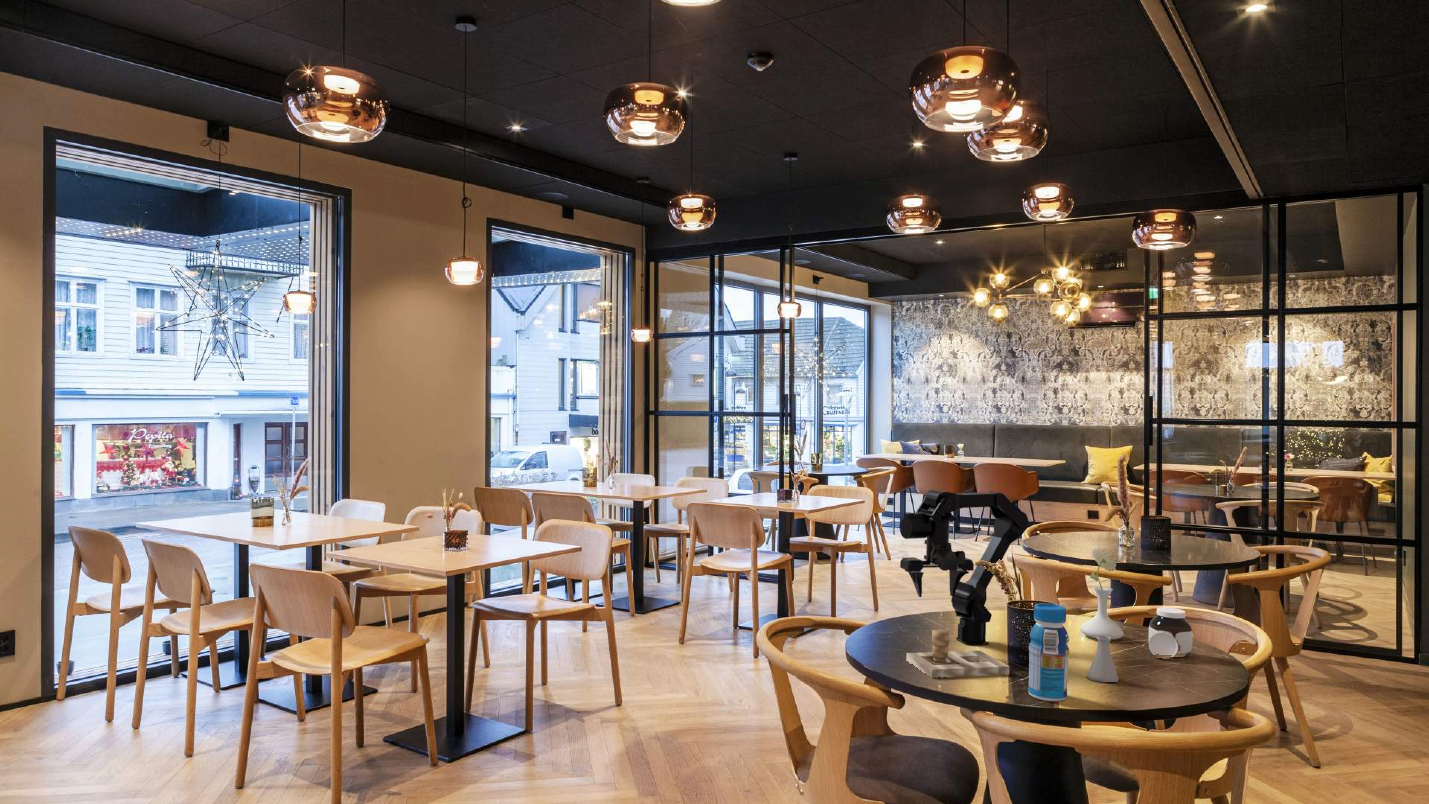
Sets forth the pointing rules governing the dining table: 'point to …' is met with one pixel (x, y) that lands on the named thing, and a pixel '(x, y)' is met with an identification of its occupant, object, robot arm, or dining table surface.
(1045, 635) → the beverage bottle
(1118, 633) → the flower in vase
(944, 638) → the peg
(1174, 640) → the spread jar
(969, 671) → the board
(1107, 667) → the flask
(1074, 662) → the dining table surface
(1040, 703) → the dining table surface
